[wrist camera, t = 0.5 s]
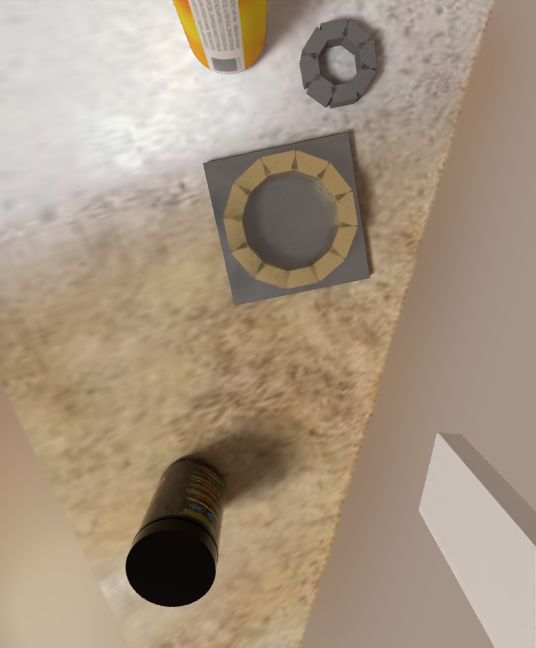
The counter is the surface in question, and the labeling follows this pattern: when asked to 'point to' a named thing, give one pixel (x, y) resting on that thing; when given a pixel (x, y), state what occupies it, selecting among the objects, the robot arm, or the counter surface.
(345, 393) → the counter surface
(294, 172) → the collar block
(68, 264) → the counter surface
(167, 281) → the counter surface
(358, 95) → the ring
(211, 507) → the supplement container
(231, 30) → the beer can
